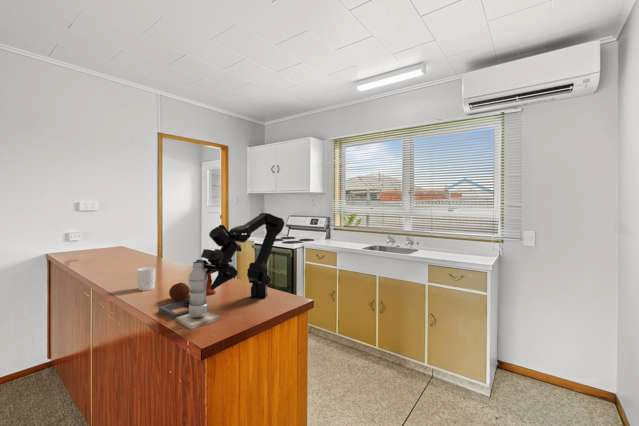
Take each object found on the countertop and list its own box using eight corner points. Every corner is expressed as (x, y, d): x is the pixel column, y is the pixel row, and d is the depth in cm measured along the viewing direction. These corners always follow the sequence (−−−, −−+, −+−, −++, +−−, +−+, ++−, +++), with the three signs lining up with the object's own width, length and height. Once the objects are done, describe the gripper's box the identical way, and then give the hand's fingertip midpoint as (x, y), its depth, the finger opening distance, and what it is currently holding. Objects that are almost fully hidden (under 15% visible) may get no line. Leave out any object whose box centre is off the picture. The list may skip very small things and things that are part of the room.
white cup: (158, 288, 148) (158, 268, 148) (142, 292, 141) (142, 271, 141) (150, 285, 152) (150, 266, 152) (134, 289, 146) (134, 269, 145)
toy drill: (219, 298, 130) (217, 263, 131) (199, 294, 143) (198, 262, 144) (229, 295, 133) (227, 262, 134) (209, 292, 146) (207, 261, 147)
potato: (181, 295, 137) (181, 278, 137) (195, 301, 130) (195, 282, 130) (164, 299, 131) (164, 281, 131) (178, 305, 124) (178, 286, 124)
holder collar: (189, 304, 126) (189, 299, 126) (205, 310, 118) (205, 305, 118) (158, 312, 116) (158, 306, 116) (174, 320, 108) (174, 314, 108)
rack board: (203, 312, 116) (203, 309, 116) (219, 319, 109) (219, 316, 109) (175, 320, 108) (175, 317, 108) (191, 329, 101) (191, 325, 101)
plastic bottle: (201, 320, 105) (202, 264, 104) (184, 319, 106) (184, 263, 105) (211, 314, 111) (211, 261, 111) (194, 313, 112) (195, 260, 112)
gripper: (198, 239, 119) (172, 272, 110) (231, 242, 109) (206, 279, 100) (214, 255, 126) (191, 288, 117) (247, 260, 116) (225, 296, 107)
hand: (202, 287), depth 110 cm, fingers open, 9 cm apart
